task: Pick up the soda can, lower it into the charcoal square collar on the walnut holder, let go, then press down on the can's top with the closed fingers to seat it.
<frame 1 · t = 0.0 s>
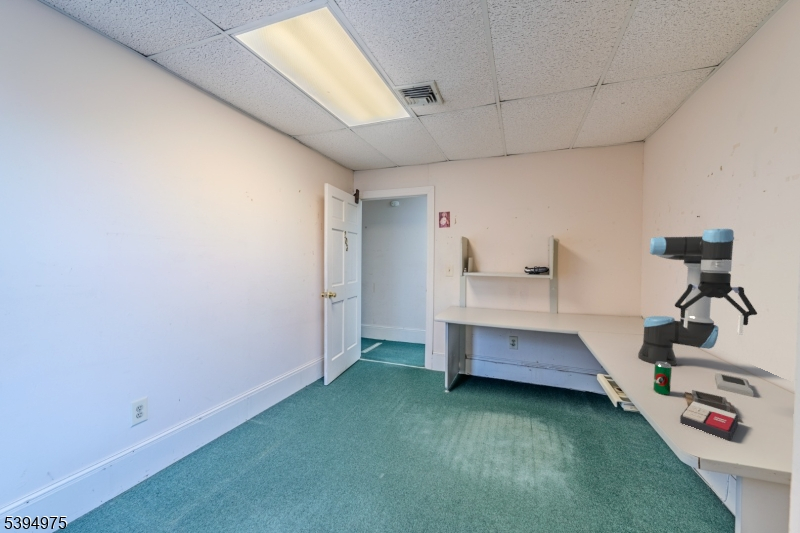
hand: (711, 330, 106), 28 cm above the table, tool pointing down, fingers open, 13 cm apart
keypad: (732, 388, 123), on the table
soda can: (661, 392, 117), on the table
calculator: (708, 426, 95), on the table
can holder: (709, 406, 106), on the table
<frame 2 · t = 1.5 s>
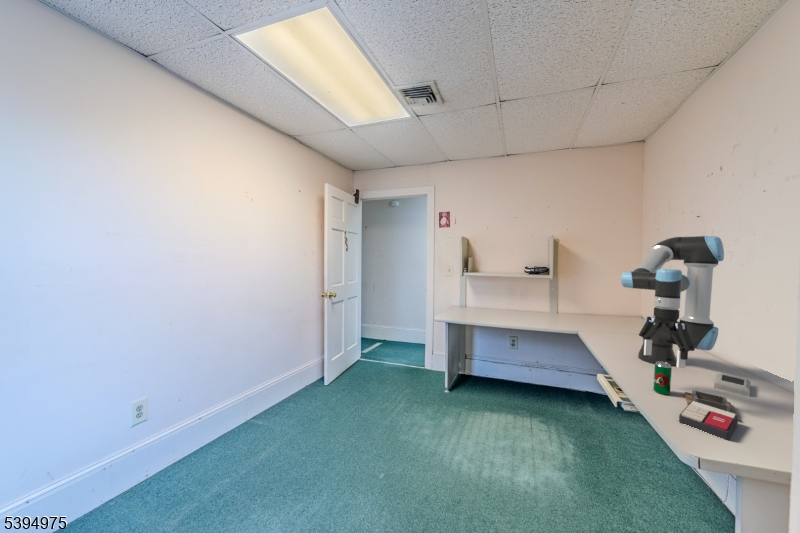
hand: (663, 360, 116), 13 cm above the table, tool pointing down, fingers open, 13 cm apart
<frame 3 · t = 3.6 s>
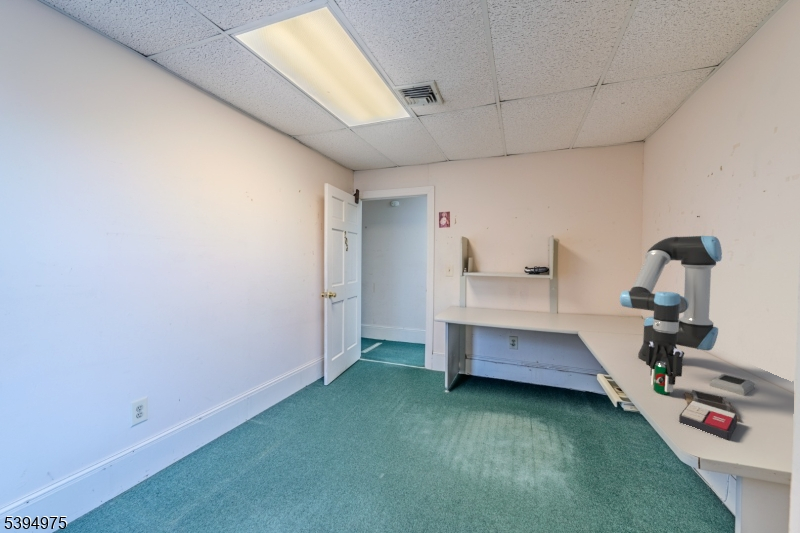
hand: (661, 388, 117), 2 cm above the table, tool pointing down, fingers closed on soda can, 5 cm apart
soda can: (661, 392, 117), on the table, touching gripper
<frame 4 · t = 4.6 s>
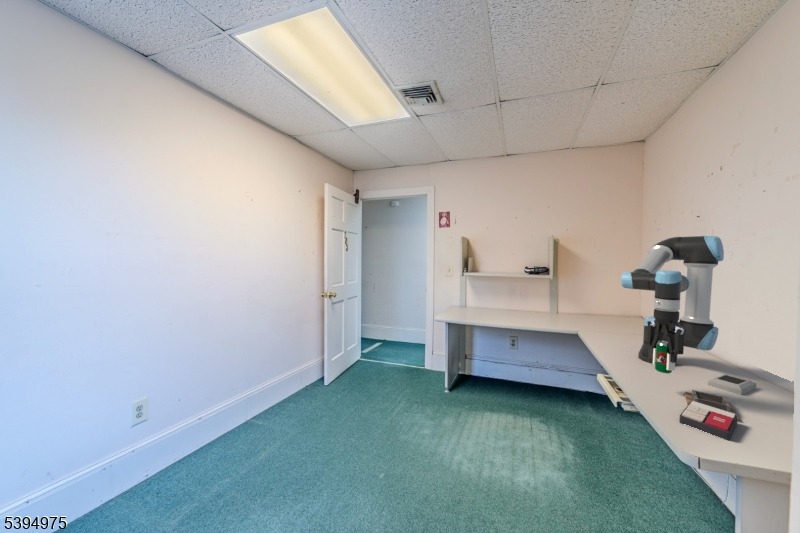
hand: (663, 366, 117), 10 cm above the table, tool pointing down, fingers closed on soda can, 5 cm apart
soda can: (663, 371, 117), point 8 cm above the table, touching gripper
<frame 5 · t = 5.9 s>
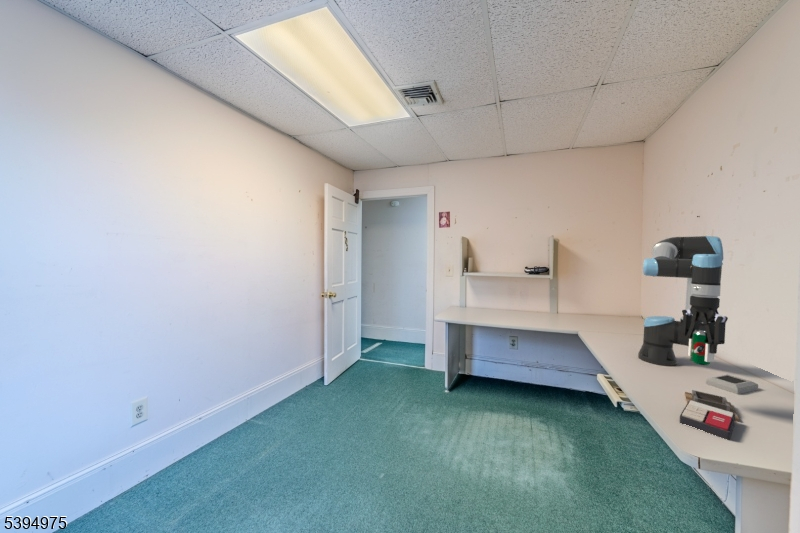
hand: (700, 358, 108), 17 cm above the table, tool pointing down, fingers closed on soda can, 5 cm apart
soda can: (700, 363, 108), point 15 cm above the table, touching gripper
when the fingers open (4 cm above the table, at t = 8.5 s): soda can drops 1 cm, resting on can holder.
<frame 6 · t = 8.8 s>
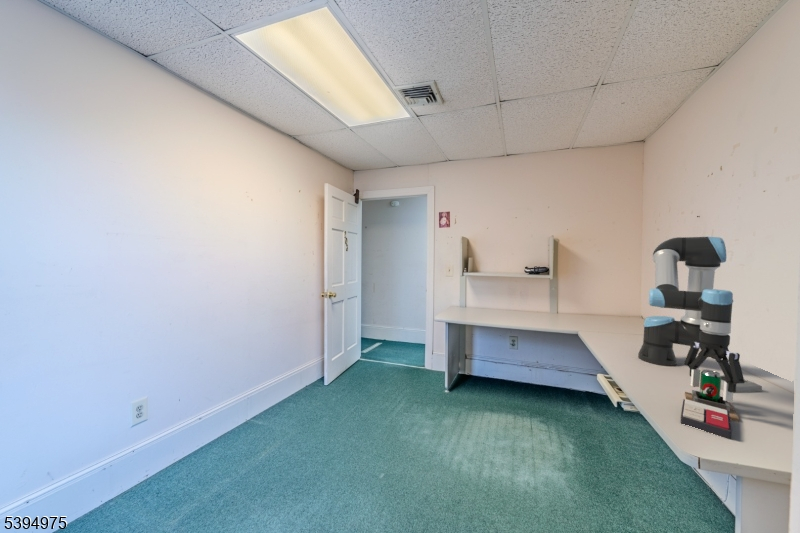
hand: (710, 392, 106), 5 cm above the table, tool pointing down, fingers open, 10 cm apart
soda can: (709, 404, 106), point 1 cm above the table, touching can holder
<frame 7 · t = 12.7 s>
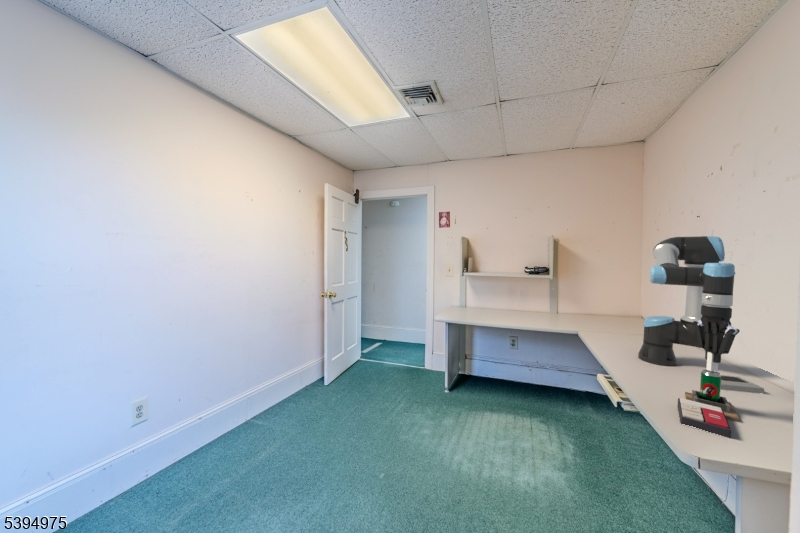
hand: (712, 370, 106), 14 cm above the table, tool pointing down, fingers closed
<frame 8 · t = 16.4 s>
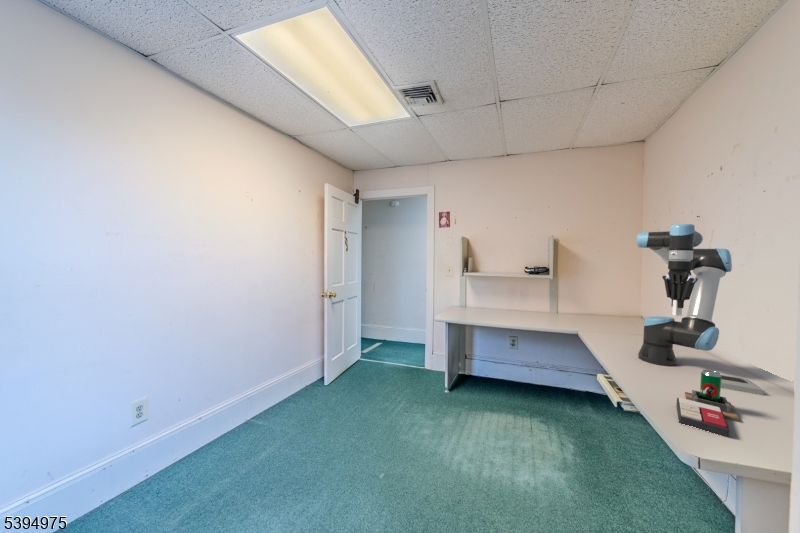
hand: (676, 315, 126), 29 cm above the table, tool pointing down, fingers closed
at the end: soda can 0.2 cm from the can holder (horizontally); soda can point 0.8 cm above the table; soda can tilted 0° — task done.
